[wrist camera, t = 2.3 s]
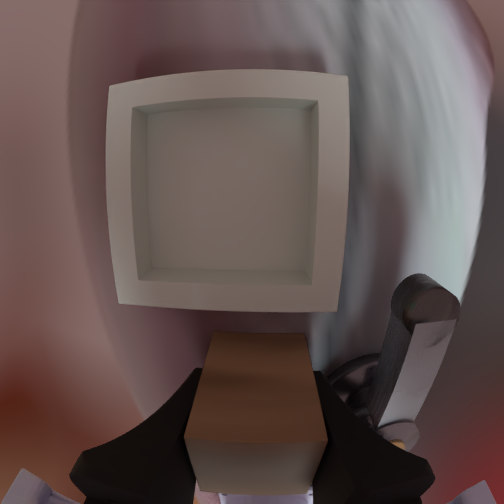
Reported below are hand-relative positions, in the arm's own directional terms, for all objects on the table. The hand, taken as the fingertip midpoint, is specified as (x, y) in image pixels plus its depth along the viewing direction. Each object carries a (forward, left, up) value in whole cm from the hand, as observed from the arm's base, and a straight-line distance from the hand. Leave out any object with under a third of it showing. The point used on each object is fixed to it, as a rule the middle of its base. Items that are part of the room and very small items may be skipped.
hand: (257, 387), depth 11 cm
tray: (+8, +1, -1) cm, 8 cm away
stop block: (0, 0, -2) cm, 2 cm away
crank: (+1, -6, 0) cm, 6 cm away
